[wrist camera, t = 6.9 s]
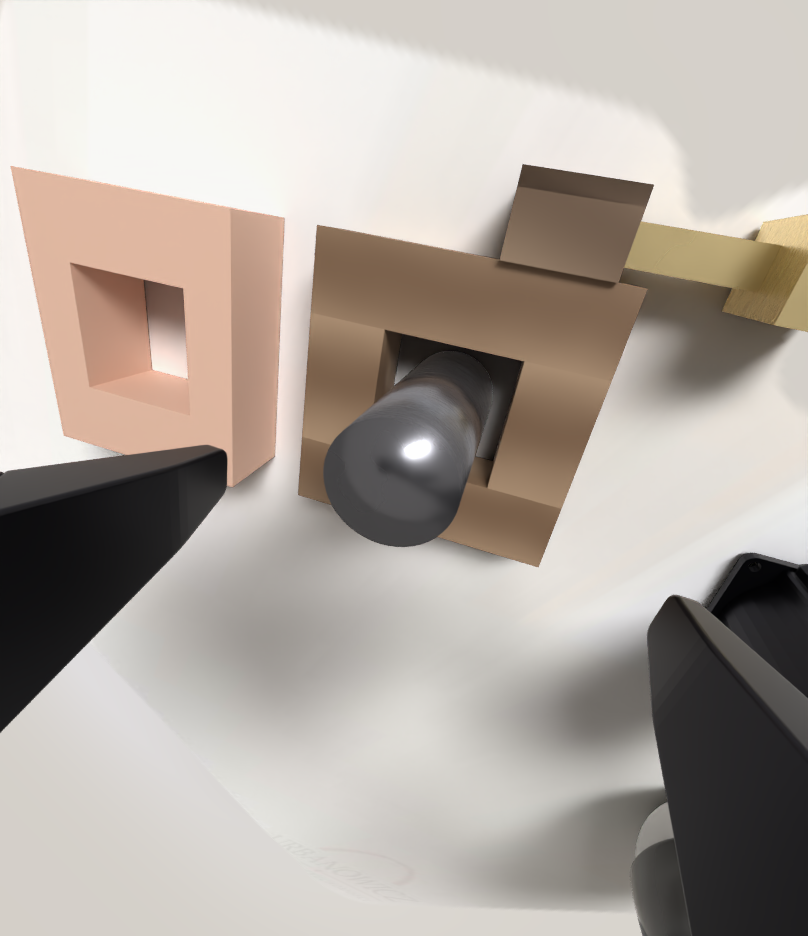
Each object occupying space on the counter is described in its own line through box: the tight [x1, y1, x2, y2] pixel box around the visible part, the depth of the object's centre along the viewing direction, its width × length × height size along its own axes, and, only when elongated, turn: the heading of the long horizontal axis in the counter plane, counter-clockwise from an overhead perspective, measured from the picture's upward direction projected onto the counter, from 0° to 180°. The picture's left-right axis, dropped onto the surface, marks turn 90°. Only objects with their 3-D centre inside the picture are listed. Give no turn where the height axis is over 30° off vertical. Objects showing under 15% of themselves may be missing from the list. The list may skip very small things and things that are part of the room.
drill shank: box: [323, 351, 493, 547], centre depth 17 cm, size 4×4×10 cm
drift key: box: [624, 214, 808, 332], centre depth 15 cm, size 3×11×4 cm, turn 80°
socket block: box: [298, 164, 654, 567], centre depth 19 cm, size 15×12×3 cm
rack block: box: [11, 166, 284, 487], centre depth 22 cm, size 12×10×4 cm
